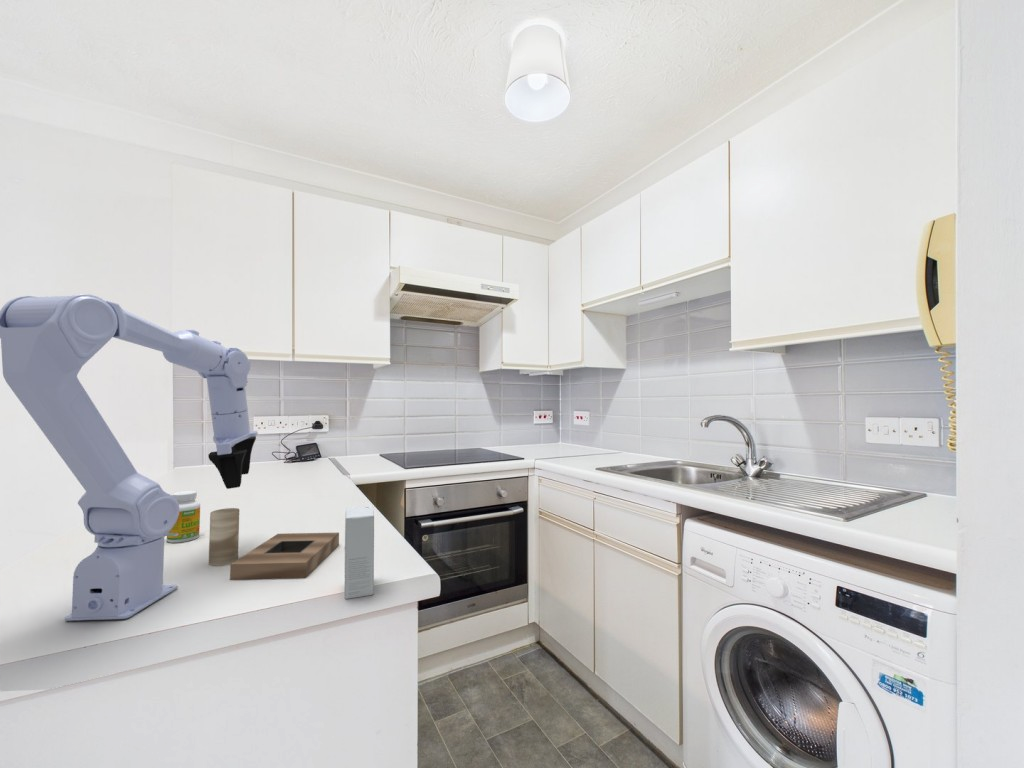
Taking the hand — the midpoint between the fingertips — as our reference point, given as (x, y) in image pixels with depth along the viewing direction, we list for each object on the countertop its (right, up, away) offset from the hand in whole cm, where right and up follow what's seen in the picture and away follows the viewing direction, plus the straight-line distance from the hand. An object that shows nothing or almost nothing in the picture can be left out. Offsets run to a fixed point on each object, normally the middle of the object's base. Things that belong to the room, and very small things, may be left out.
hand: (238, 480), depth 80 cm
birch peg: (0, -14, -5) cm, 14 cm away
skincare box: (+29, -13, -16) cm, 36 cm away
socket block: (+12, -14, -4) cm, 19 cm away
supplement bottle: (-17, -14, +7) cm, 23 cm away
